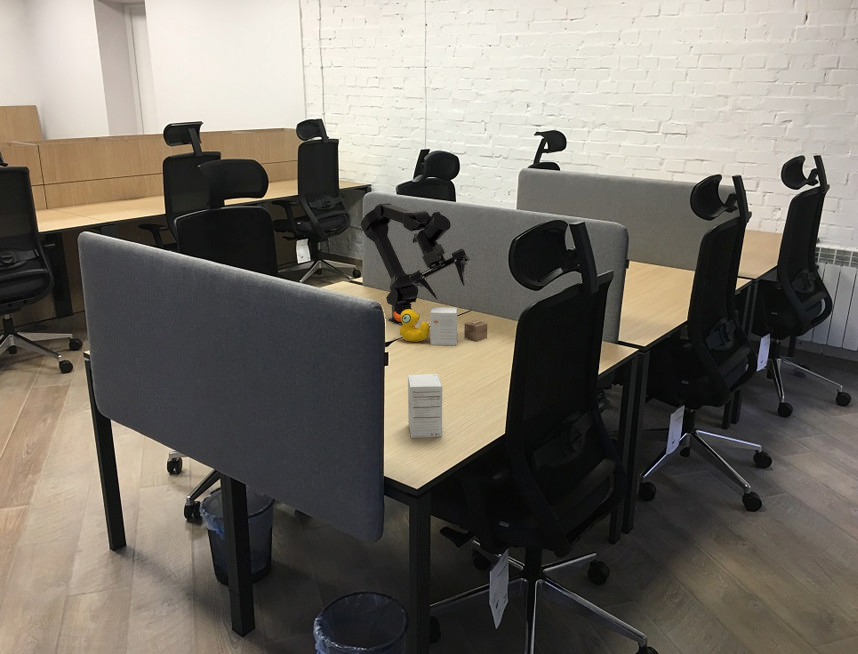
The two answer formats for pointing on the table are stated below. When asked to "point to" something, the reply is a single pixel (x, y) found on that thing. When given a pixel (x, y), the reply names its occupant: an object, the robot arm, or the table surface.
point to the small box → (443, 326)
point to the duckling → (411, 326)
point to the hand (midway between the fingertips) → (450, 292)
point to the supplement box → (425, 405)
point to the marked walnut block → (475, 330)
